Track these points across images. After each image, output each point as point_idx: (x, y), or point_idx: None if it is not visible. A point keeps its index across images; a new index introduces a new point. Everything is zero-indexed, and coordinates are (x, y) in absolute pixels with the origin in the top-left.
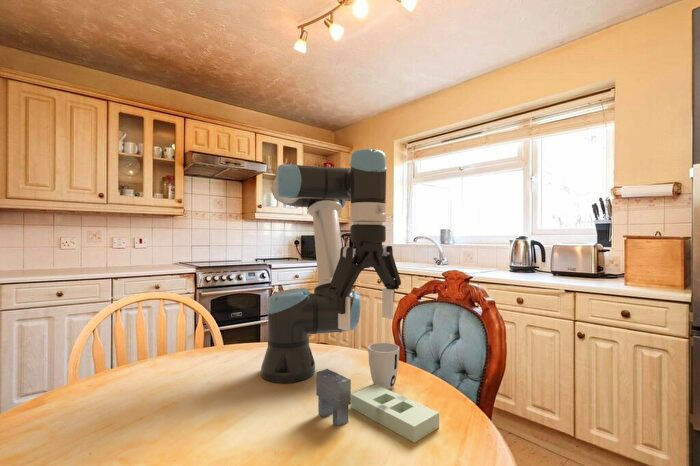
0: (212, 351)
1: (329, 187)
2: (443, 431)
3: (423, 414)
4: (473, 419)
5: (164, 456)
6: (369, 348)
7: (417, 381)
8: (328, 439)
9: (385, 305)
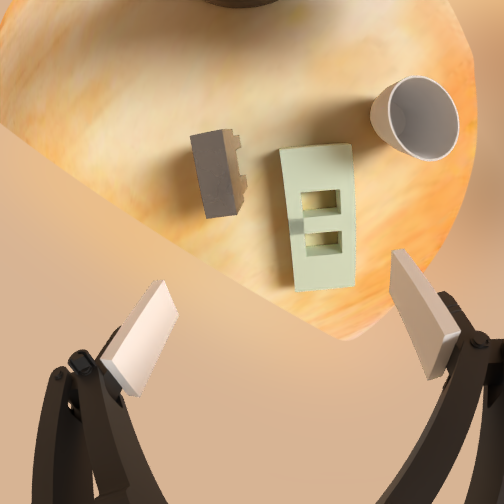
0: None
1: None
2: None
3: (332, 278)
4: None
5: (48, 152)
6: (392, 95)
7: None
8: (198, 210)
9: (408, 296)
